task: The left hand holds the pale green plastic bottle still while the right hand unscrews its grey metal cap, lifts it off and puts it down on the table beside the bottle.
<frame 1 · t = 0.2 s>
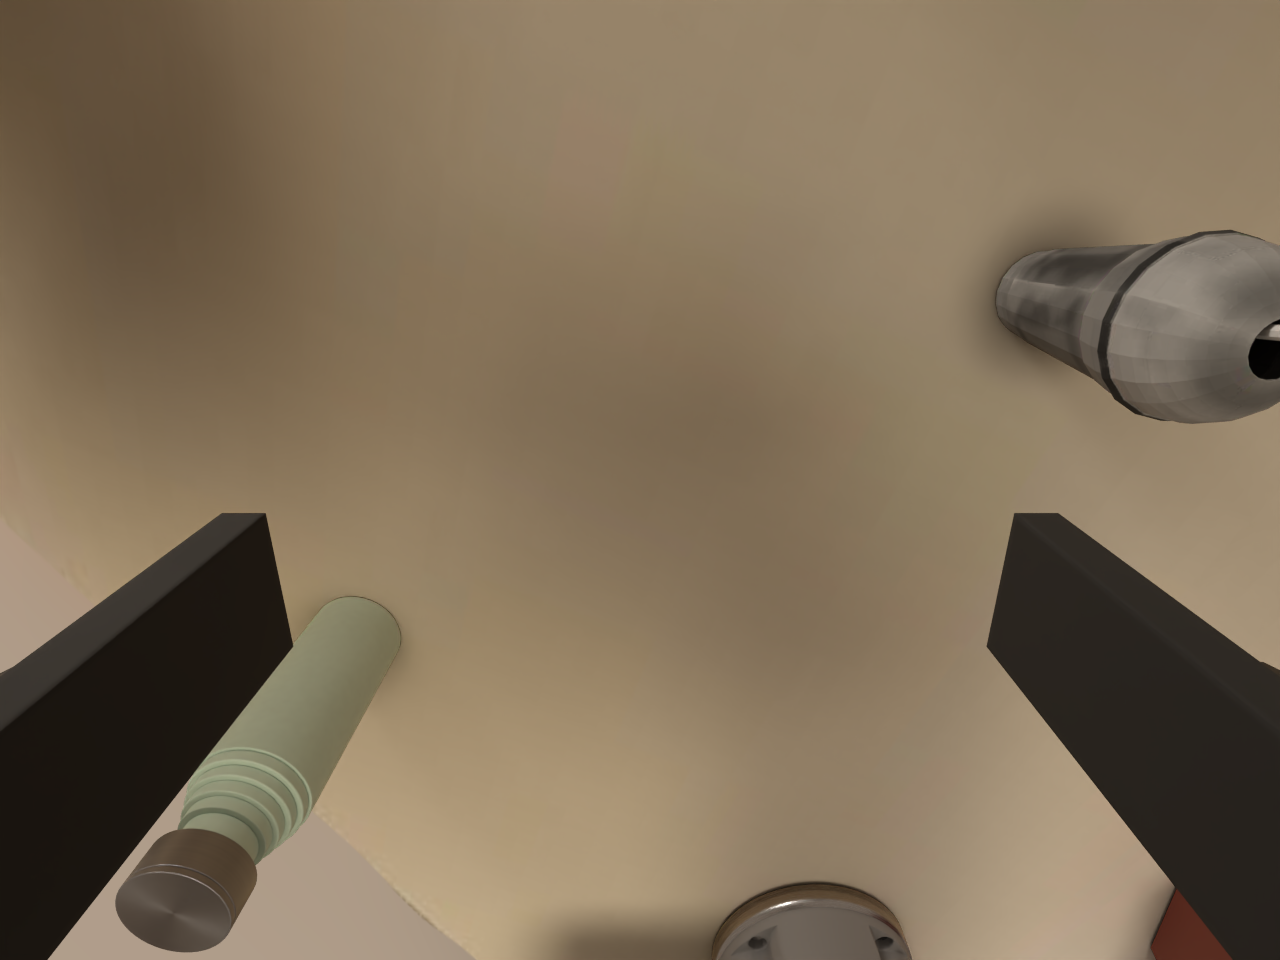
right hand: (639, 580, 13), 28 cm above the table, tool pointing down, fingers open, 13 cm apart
bucket: (1259, 910, 55), on the table
bottle: (357, 634, 46), on the table
cap: (178, 906, 28), point 19 cm above the table, screwed on, not yet turned
beverage cup: (1036, 294, 38), on the table
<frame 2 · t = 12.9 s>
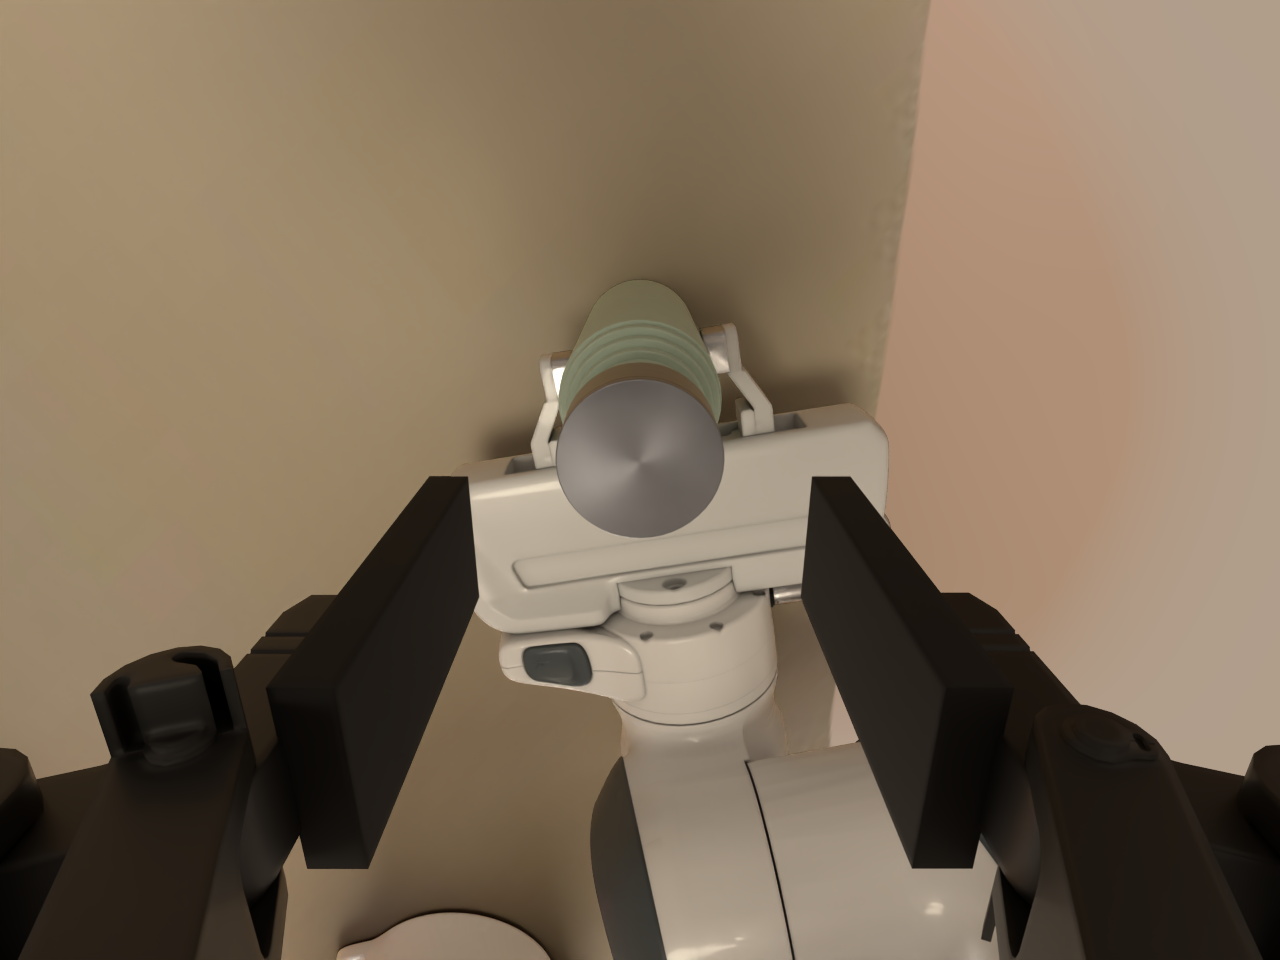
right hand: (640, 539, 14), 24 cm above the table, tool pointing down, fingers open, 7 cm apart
bottle: (640, 335, 37), on the table, touching left hand
cap: (639, 458, 19), point 19 cm above the table, screwed on, not yet turned
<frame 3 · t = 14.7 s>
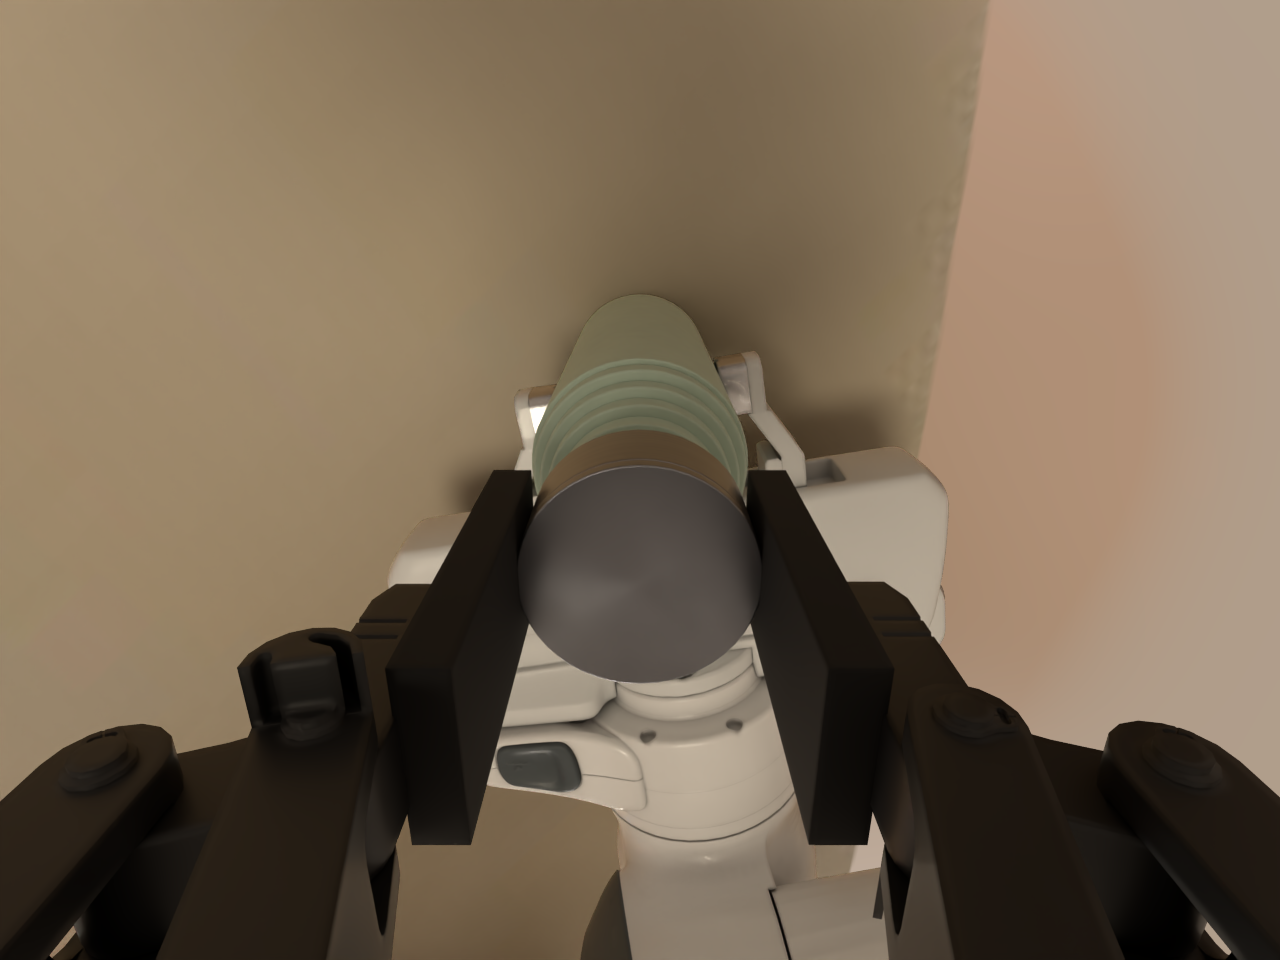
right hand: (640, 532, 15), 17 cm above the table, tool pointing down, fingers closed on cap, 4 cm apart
bottle: (640, 360, 31), on the table, touching left hand
cap: (639, 573, 13), point 19 cm above the table, screwed on, not yet turned, touching right hand
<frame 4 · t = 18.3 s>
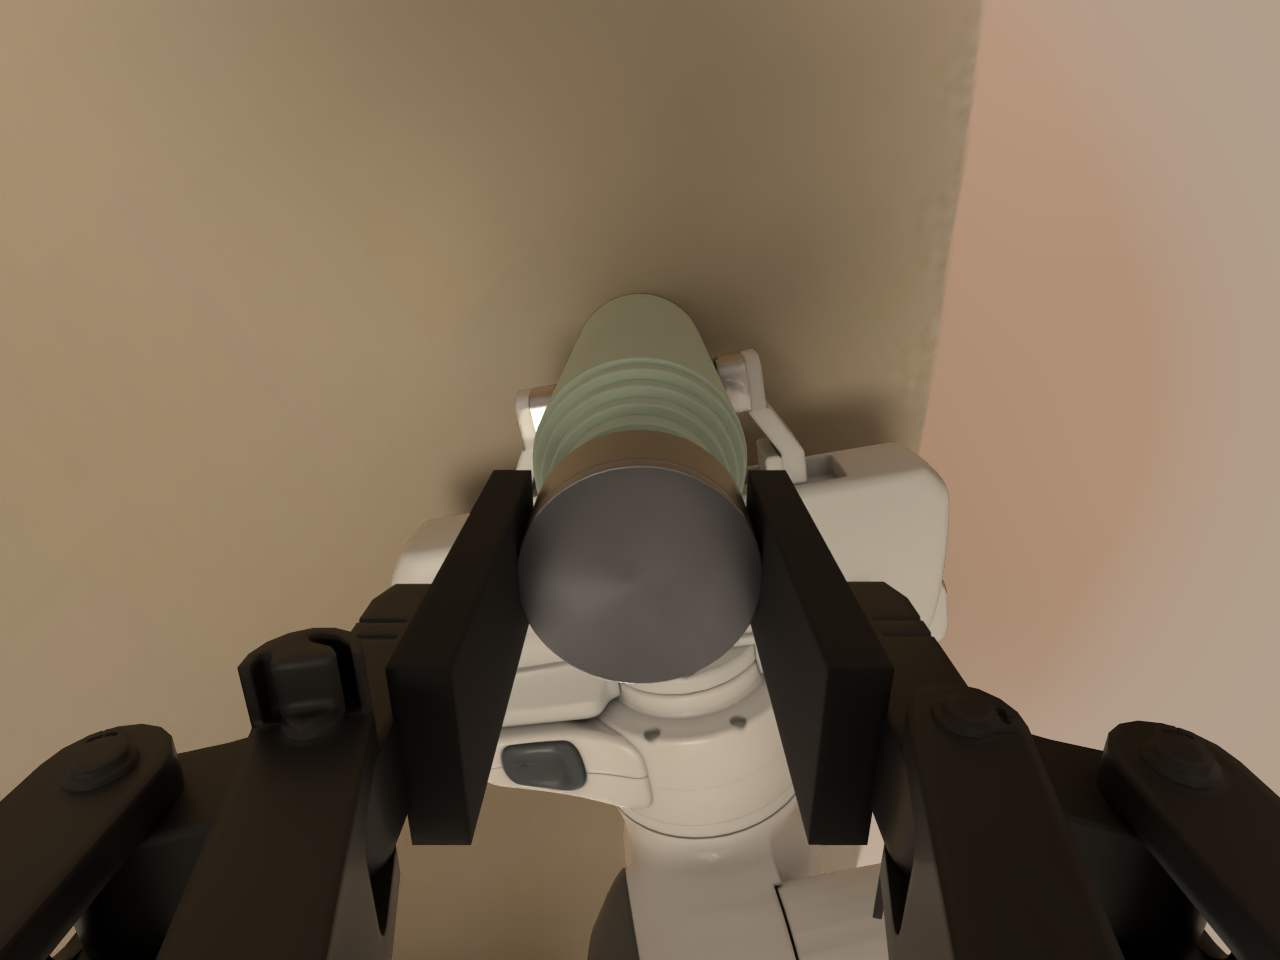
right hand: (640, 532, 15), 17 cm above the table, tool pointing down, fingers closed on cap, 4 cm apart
bottle: (639, 359, 31), on the table, touching left hand
cap: (639, 573, 13), point 19 cm above the table, turned 132° so far, risen 0.1 cm, still on its thread, touching right hand
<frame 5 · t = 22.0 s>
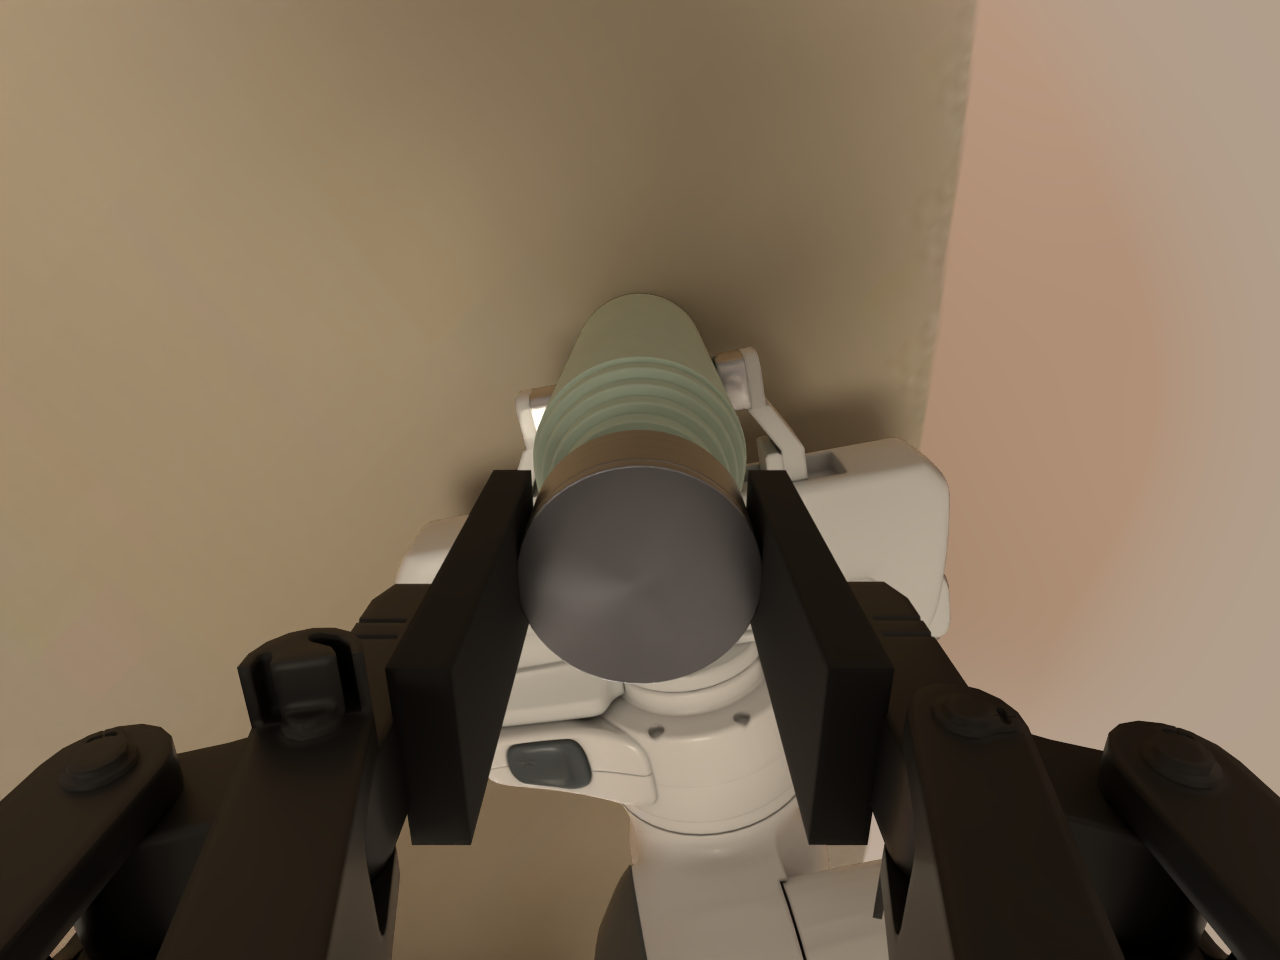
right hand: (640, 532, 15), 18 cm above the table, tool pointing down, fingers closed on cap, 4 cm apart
bottle: (639, 358, 31), on the table, touching left hand
cap: (639, 573, 13), point 19 cm above the table, turned 263° so far, risen 0.2 cm, still on its thread, touching right hand
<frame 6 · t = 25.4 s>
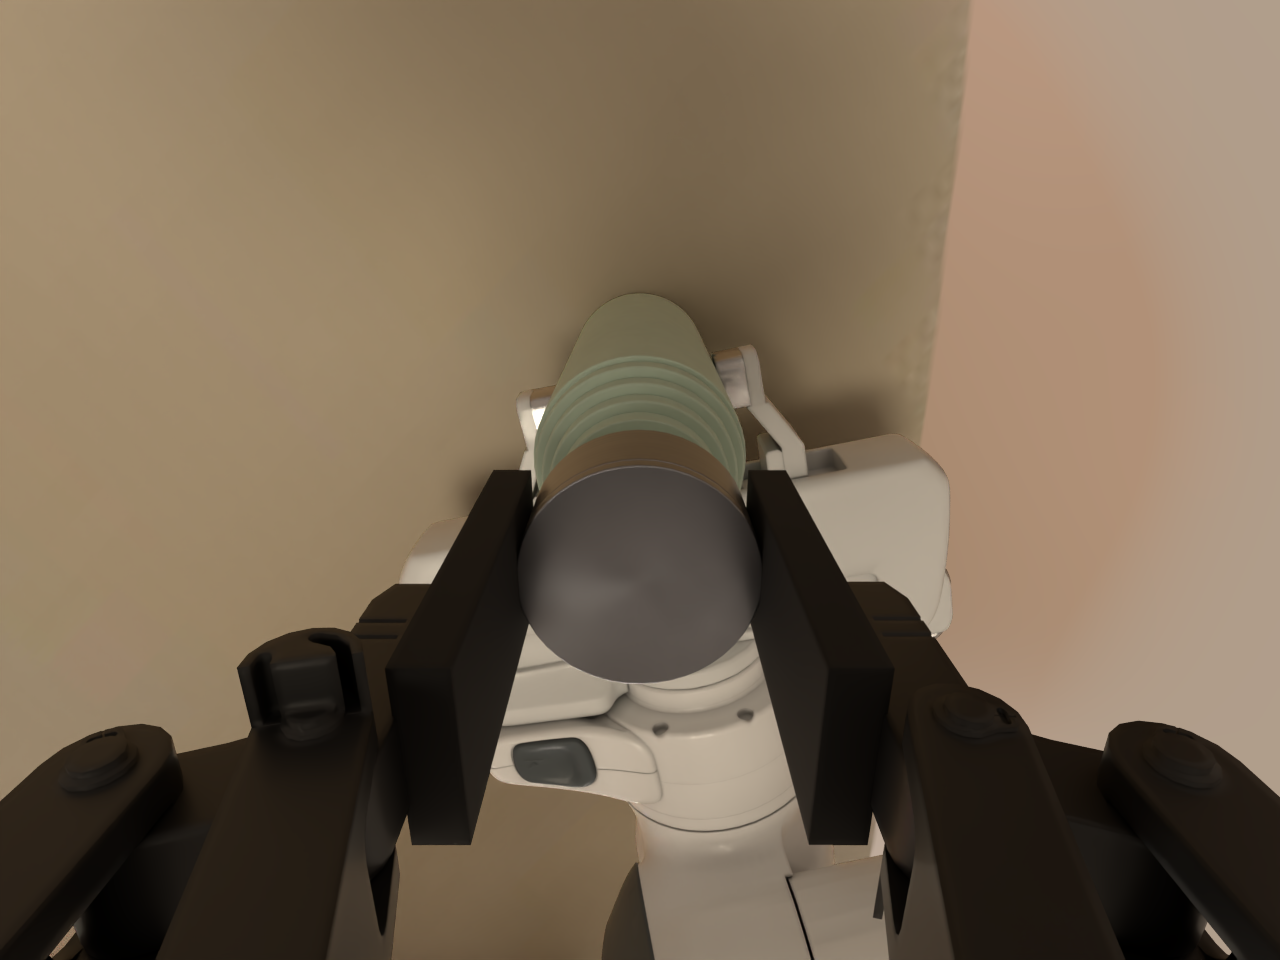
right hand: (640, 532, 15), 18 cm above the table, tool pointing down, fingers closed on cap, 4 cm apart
bottle: (639, 358, 31), on the table, touching left hand
cap: (639, 573, 13), point 19 cm above the table, turned 395° so far, risen 0.4 cm, still on its thread, touching right hand
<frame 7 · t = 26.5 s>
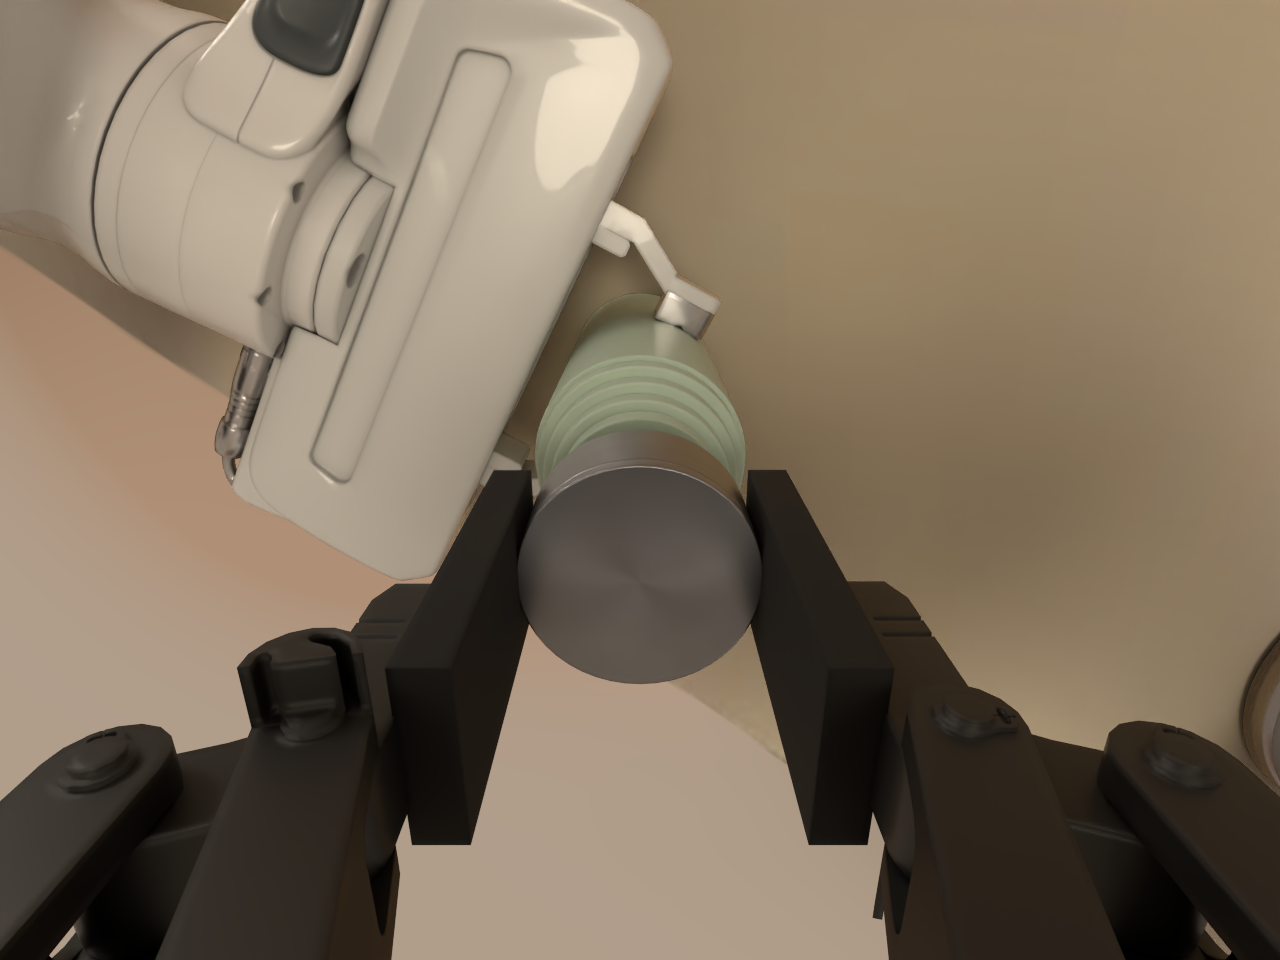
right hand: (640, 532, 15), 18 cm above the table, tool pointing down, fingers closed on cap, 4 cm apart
left hand: (663, 405, 25), fingers closed on bottle, 5 cm apart
bottle: (640, 358, 31), on the table, touching left hand
cap: (639, 573, 13), point 20 cm above the table, off its thread, touching right hand
when the right hand's fingers open (1 cm above the table, at t = 32.5 s): cap drops 1 cm, point 2 cm above the table.
when the left hand's fingers open (7 cm above the table, at t = 33.9 s): bottle stays where it is, on the table.
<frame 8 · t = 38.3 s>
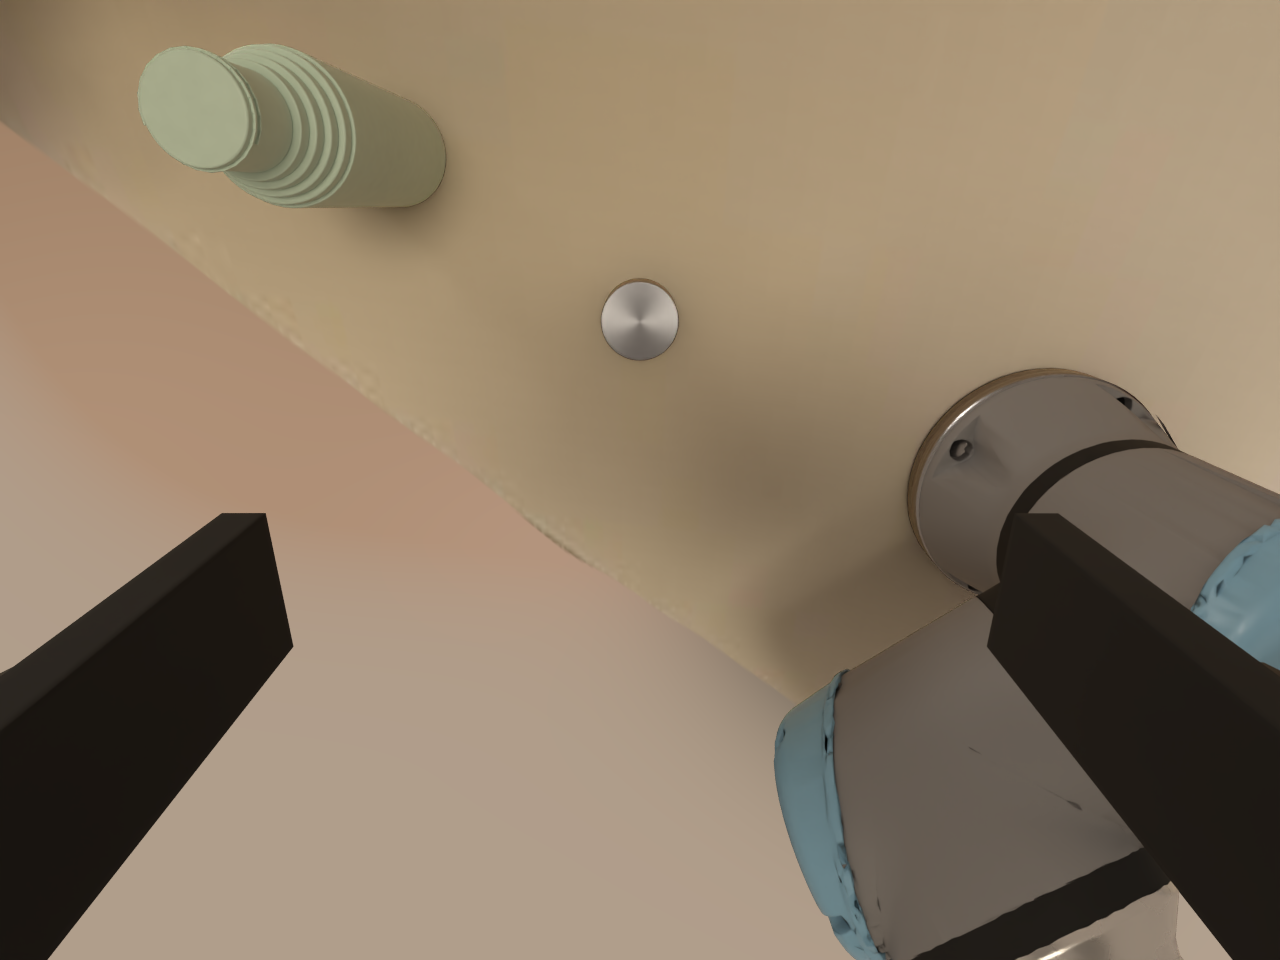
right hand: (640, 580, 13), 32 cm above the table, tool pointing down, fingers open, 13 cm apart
bottle: (395, 153, 39), on the table
cap: (639, 321, 41), point 2 cm above the table, off its thread
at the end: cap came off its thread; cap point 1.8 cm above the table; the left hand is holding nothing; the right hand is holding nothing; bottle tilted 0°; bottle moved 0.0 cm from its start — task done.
